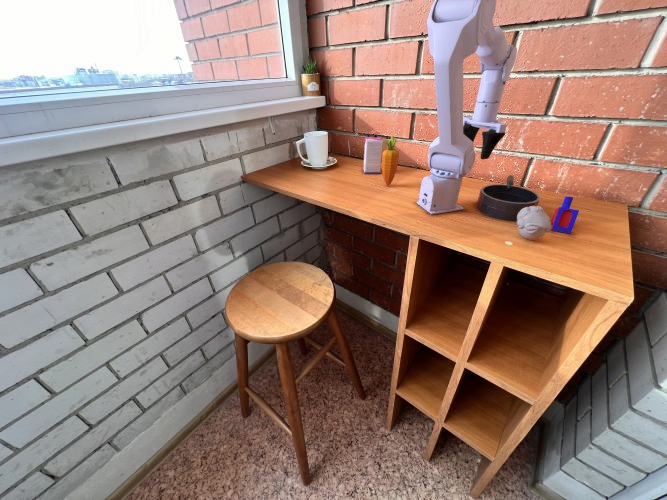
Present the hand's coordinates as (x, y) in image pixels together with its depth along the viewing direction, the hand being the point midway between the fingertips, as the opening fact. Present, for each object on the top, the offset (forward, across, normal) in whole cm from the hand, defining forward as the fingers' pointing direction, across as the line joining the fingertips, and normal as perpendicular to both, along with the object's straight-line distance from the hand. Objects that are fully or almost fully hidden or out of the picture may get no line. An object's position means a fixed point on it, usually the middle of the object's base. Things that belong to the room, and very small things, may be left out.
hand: (475, 155), depth 81 cm
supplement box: (+11, +27, +20) cm, 35 cm away
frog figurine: (+11, -28, +6) cm, 31 cm away
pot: (+10, -15, 0) cm, 18 cm away
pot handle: (+7, -7, -8) cm, 13 cm away
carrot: (+11, +11, +21) cm, 26 cm away
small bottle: (+11, -27, -5) cm, 29 cm away
